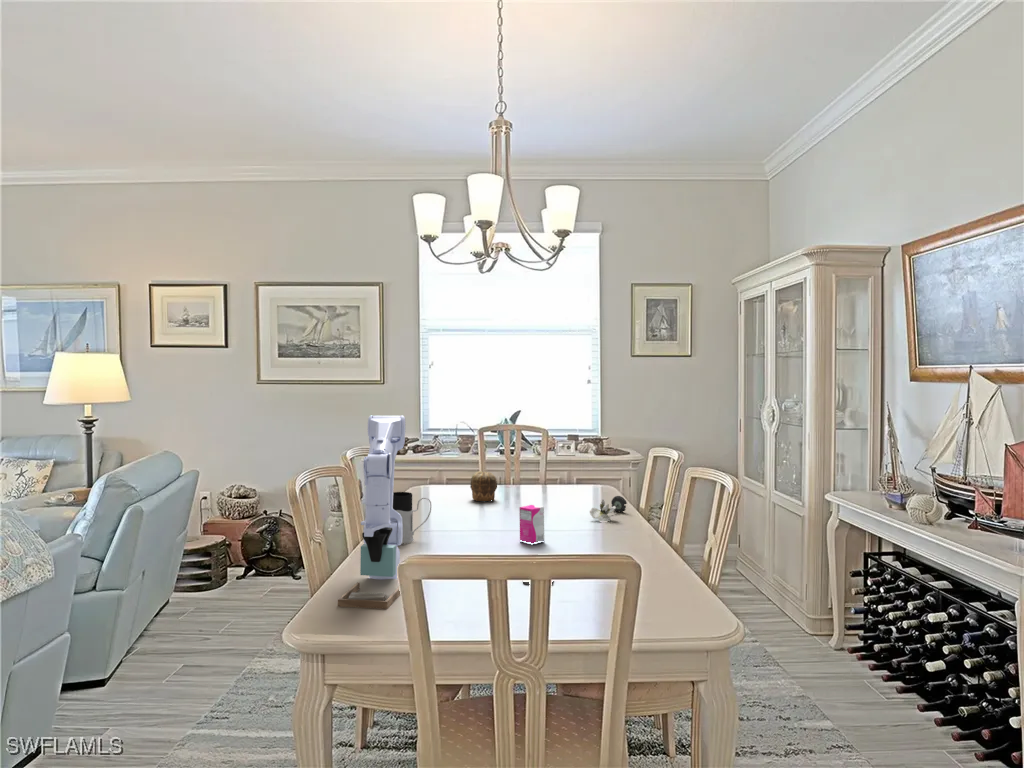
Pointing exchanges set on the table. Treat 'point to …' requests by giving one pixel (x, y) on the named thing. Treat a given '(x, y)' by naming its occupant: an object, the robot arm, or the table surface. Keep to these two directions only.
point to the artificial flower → (616, 506)
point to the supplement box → (532, 523)
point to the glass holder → (406, 513)
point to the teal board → (379, 568)
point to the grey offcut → (368, 596)
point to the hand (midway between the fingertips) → (377, 559)
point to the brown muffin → (483, 486)
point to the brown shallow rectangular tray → (347, 602)
